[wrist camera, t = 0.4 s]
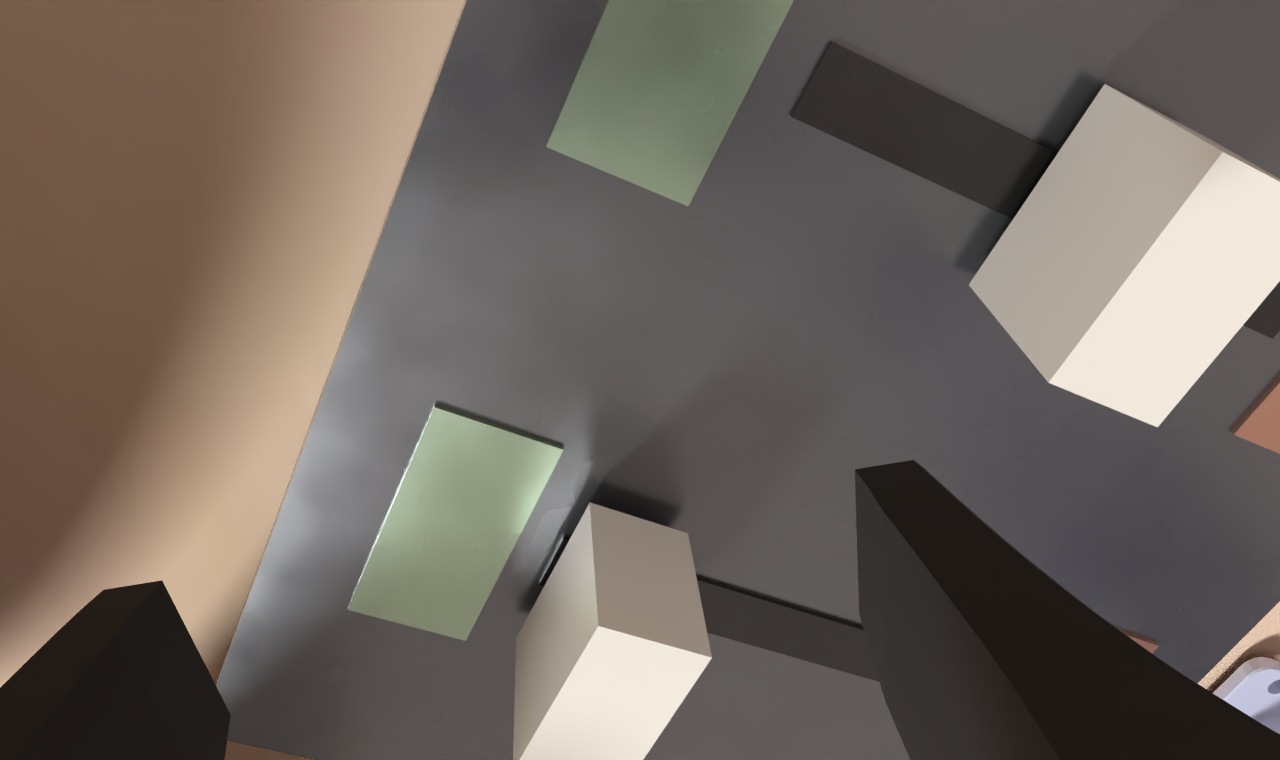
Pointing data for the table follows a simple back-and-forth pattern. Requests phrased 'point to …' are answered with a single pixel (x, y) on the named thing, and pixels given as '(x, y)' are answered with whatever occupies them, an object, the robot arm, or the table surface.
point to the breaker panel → (743, 362)
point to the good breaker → (609, 642)
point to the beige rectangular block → (1134, 258)
